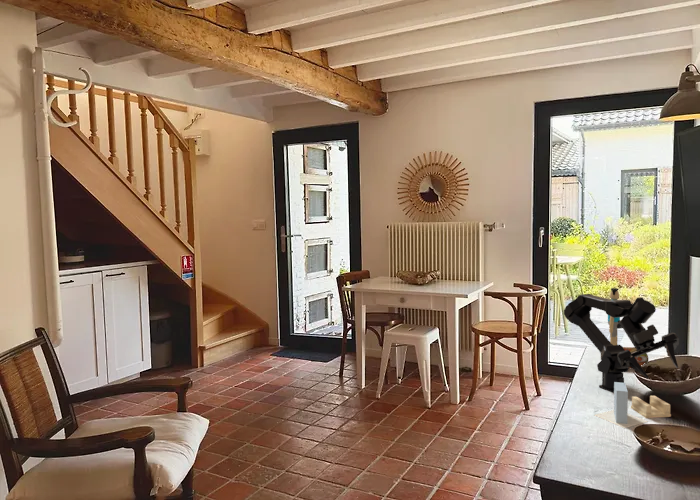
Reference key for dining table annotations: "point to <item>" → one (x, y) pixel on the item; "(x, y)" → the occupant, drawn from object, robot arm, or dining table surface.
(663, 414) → the rack
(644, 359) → the tin
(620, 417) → the pale grey upright block
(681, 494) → the dining table surface
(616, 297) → the figurine
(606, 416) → the mat
